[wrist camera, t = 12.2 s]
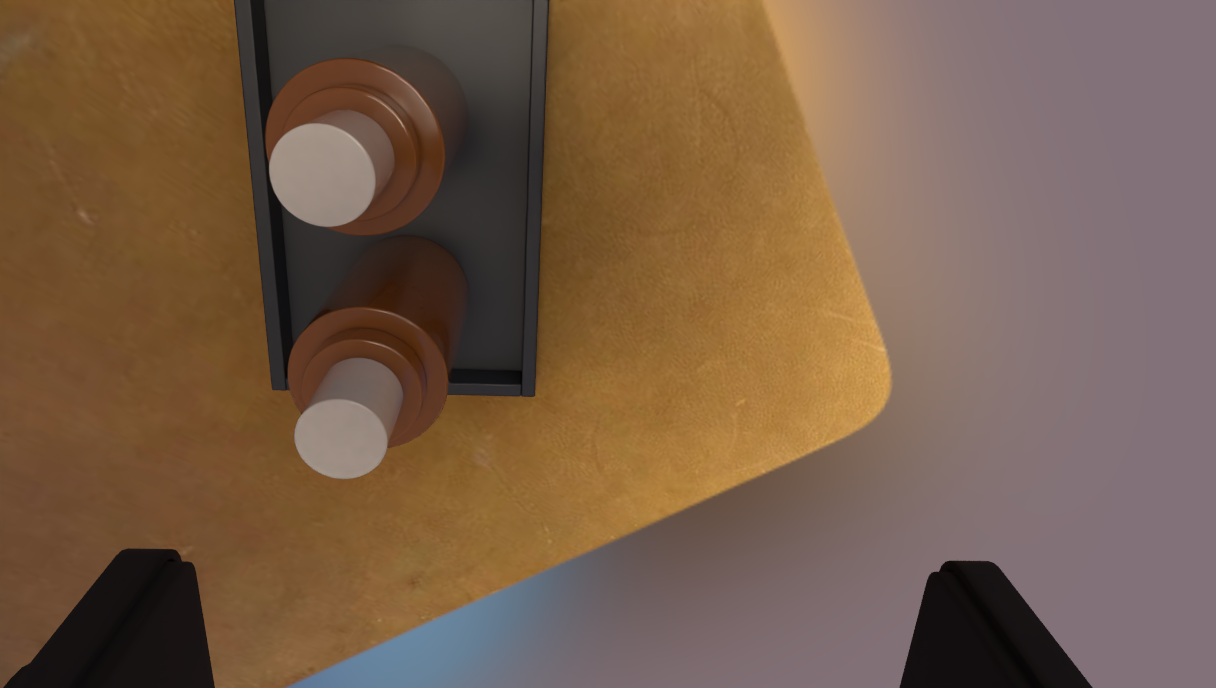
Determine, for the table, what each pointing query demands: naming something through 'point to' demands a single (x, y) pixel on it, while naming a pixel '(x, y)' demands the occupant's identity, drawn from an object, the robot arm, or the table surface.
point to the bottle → (365, 138)
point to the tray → (468, 197)
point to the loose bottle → (378, 355)
